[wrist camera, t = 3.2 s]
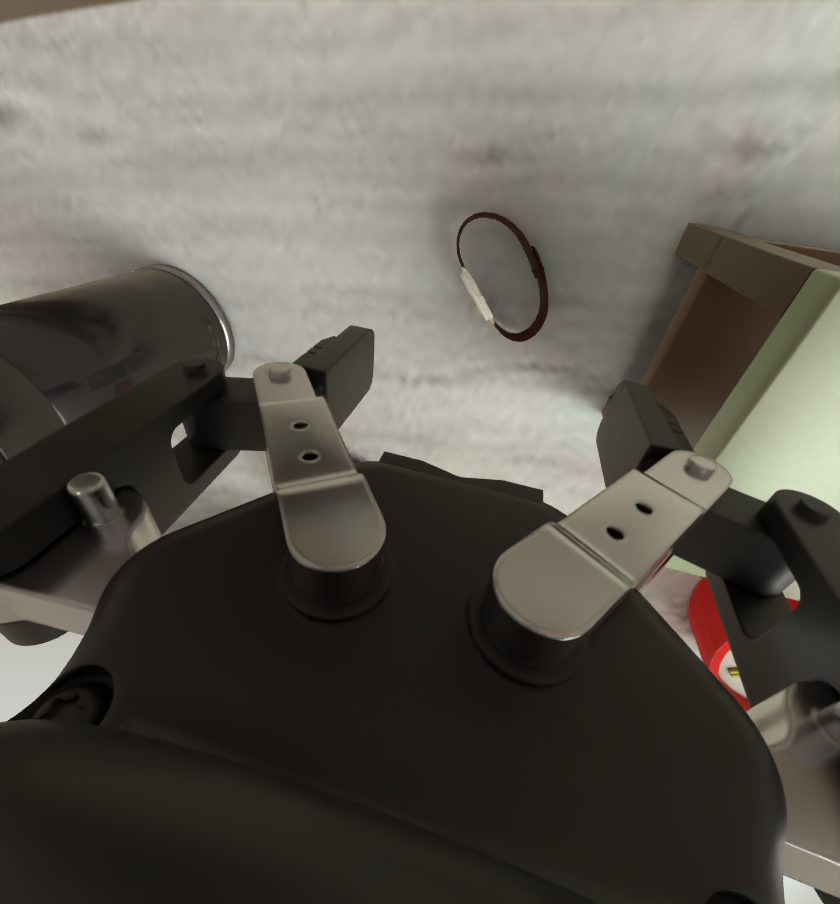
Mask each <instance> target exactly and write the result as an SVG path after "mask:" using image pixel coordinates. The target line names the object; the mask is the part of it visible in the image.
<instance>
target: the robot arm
mask: <svg viewBox="0 0 840 904" xmlns="http://www.w3.org/2000/svg"><path fill="white" fill-rule="evenodd" d="M233 355H234V342H233V336H232V332H231V329H230V326H229V323H228V321H227V319H226V317H225V315H224V313H223V311H222V309H221V308H220V306H219V305H218V303H217V302H216V301H215V299H214V298H213V297H212V296H211V295H210V293H209V292H208V291H207V290H206V289H205V288H204V287H203V286H202V285H201V284H199V283H198V282H197V281H196V280H194V279H193V278H192V277H190V276H189V275H187V274H185V273H183V272H182V271H179V270H177V269H175V268H172V267H168V266H164V265H151V266H147V267H143V268H139V269H137V270H135V271H133V272H129V273H125V274H121V275H117V276H113V277H109V278H104V279H100V280H96V281H93V282H89V283H85V284H81V285H77V286H73V287H69V288H65V289H61V290H57V291H53V292H49V293H45V294H41V295H37V296H34V297H30V298H26V299H22V300H18V301H14V302H10V303H6V304H2V305H0V633H1V634H3V636H5V637H6V638H7V639H8V640H9V641H10V642H12V643H14V644H16V645H21V646H31V645H38V644H42V643H45V642H48V641H51V640H53V639H56V638H58V637H60V636H61V635H63V634H65V633H67V632H68V631H70V632H74V633H77V634H82V635H84V637H83V639H82V641H81V642H80V644H79V646H78V647H77V649H76V651H75V653H74V654H73V656H72V658H71V659H70V660H69V662H68V663H67V665H66V666H65V668H64V669H63V670H62V672H61V673H60V675H59V676H58V677H57V678H56V680H55V681H54V682H53V683H52V684H51V686H49V687H48V689H47V690H46V691H44V692H43V693H42V694H41V695H40V696H39V697H38V698H37V699H36V700H35V701H34V702H32V703H31V704H30V705H29V706H27V707H26V708H25V709H24V710H22V711H21V712H20V713H18V714H17V715H16V716H14V717H13V718H11V719H9V720H8V721H6V722H1V723H0V904H785V901H784V888H783V875H785V876H787V877H789V878H792V879H794V880H797V881H799V882H801V883H804V884H806V885H809V886H811V887H814V889H815V891H816V892H817V894H818V896H819V897H820V899H821V900H822V902H823V903H824V904H840V512H839V511H837V510H836V509H835V508H833V507H832V506H830V505H828V504H827V503H825V502H823V501H821V500H819V499H817V498H815V497H813V496H811V495H808V494H805V493H802V492H799V491H795V490H789V489H781V490H778V491H776V492H775V493H774V494H773V495H772V496H771V498H770V499H769V500H768V501H767V502H764V501H762V500H759V499H757V498H754V497H752V496H749V495H747V494H744V493H742V492H739V491H737V490H735V489H732V488H730V486H731V484H732V483H733V479H732V476H731V474H730V473H729V472H728V470H726V469H725V468H724V467H723V466H722V465H721V464H719V463H718V462H716V461H714V460H713V459H711V458H709V457H707V456H704V455H702V454H699V453H696V452H694V450H693V448H692V446H691V444H690V442H689V441H688V439H687V437H686V435H684V431H683V430H682V428H681V427H679V426H680V424H679V422H678V421H677V419H676V417H675V415H674V414H673V413H671V412H670V411H669V410H668V409H667V408H666V407H664V406H663V405H660V404H658V402H657V400H656V398H655V396H654V394H653V392H652V390H651V388H650V386H647V385H642V384H637V383H632V382H627V381H622V382H621V383H620V384H619V386H618V387H617V389H616V391H615V394H614V396H613V398H612V400H611V402H610V404H609V406H608V408H607V410H606V413H605V415H604V417H603V419H602V421H601V423H600V426H599V429H598V432H597V438H596V442H597V447H598V452H599V457H600V462H601V467H602V472H603V476H604V481H605V486H606V489H604V490H603V491H602V492H600V493H599V494H597V495H596V496H595V497H593V498H592V499H590V500H589V501H588V502H586V503H585V504H583V505H582V506H581V507H579V508H578V509H576V510H575V511H573V512H572V513H571V514H569V515H568V516H567V515H565V514H564V513H562V512H561V511H559V510H558V509H556V508H554V507H552V506H550V505H548V504H546V503H544V502H543V490H540V489H536V488H532V487H528V486H524V485H519V484H515V483H511V482H507V481H503V480H491V479H477V478H464V477H458V476H456V475H453V474H451V473H449V472H447V471H444V470H442V469H440V468H437V467H435V466H433V465H431V464H428V463H426V462H424V461H421V460H417V459H413V458H409V457H405V456H401V455H396V454H392V453H388V452H384V453H383V455H382V457H381V459H380V461H365V462H355V463H353V462H352V460H351V457H350V455H349V453H348V451H347V448H346V446H345V444H344V441H343V439H342V437H341V435H340V432H339V430H338V429H339V428H340V427H341V426H342V424H343V423H344V422H345V420H346V419H347V418H348V416H349V415H350V414H351V413H352V411H353V410H354V409H355V407H356V406H357V405H358V404H359V402H360V401H361V400H362V398H363V397H364V396H365V394H366V393H367V392H368V390H369V389H370V386H371V383H372V378H373V363H374V332H373V330H372V329H367V328H362V327H358V326H353V325H350V326H349V327H348V328H347V329H345V330H344V331H343V332H342V333H340V334H339V335H338V336H337V337H335V336H333V337H330V338H327V339H324V340H321V341H320V342H319V343H317V344H316V345H315V346H314V347H313V348H311V349H310V350H308V351H307V353H305V354H303V355H302V356H301V357H299V358H298V359H297V360H296V361H294V362H293V363H287V362H276V363H269V364H265V365H262V366H260V367H258V368H257V369H255V371H254V372H253V378H235V377H226V375H225V372H226V371H227V369H228V368H229V366H230V365H231V362H232V359H233ZM182 422H183V425H184V428H185V431H186V434H187V437H186V438H184V439H183V440H182V441H181V442H180V443H178V444H177V445H176V446H175V447H174V448H173V449H172V446H171V437H172V434H173V431H174V430H175V428H176V427H177V426H178V425H180V424H181V423H182ZM240 450H250V451H266V456H267V461H268V466H269V472H270V477H271V482H272V488H273V493H270V494H268V495H265V496H263V497H260V498H257V499H255V500H252V501H250V502H247V503H245V504H242V505H240V506H237V507H235V508H232V509H230V510H227V511H225V512H222V513H220V514H217V515H215V516H212V517H210V518H207V519H205V520H202V521H200V522H197V523H194V524H192V525H189V526H187V527H184V528H182V529H179V530H177V531H174V532H172V533H169V534H167V535H165V536H163V537H162V535H163V534H164V533H165V532H166V531H167V529H168V528H169V527H170V526H171V525H172V524H173V523H174V522H175V521H176V520H177V519H178V518H179V517H180V516H181V515H182V513H183V512H184V511H185V510H186V509H187V508H188V507H189V506H190V505H191V504H192V503H193V502H194V501H195V500H196V499H197V497H198V496H199V495H200V494H201V493H202V492H203V491H204V490H205V489H206V488H207V487H208V486H209V485H210V484H211V483H212V481H213V480H214V479H215V478H216V477H217V476H218V475H219V474H220V473H221V472H222V471H223V470H224V469H225V468H226V467H227V465H228V464H229V463H230V462H231V461H232V460H233V459H234V458H235V457H236V456H237V455H238V454H239V452H240ZM674 555H675V556H677V557H679V558H681V559H683V560H685V561H687V562H689V563H691V564H693V565H696V566H698V567H700V568H702V569H704V570H705V574H706V578H707V581H708V584H709V587H710V590H711V593H712V596H713V598H714V601H715V604H716V607H717V610H718V613H719V616H720V619H721V622H722V625H723V628H724V631H725V634H726V637H727V640H728V643H729V646H730V649H731V652H732V655H733V658H734V661H735V664H736V667H737V670H738V673H739V676H740V679H741V682H742V685H743V688H744V691H745V694H746V697H747V700H748V703H749V705H750V708H751V709H750V710H748V711H747V712H746V711H745V709H744V708H743V707H742V706H741V705H740V704H739V702H738V701H737V700H736V699H735V698H734V697H733V695H732V694H731V693H730V692H729V691H728V690H727V689H726V688H725V687H724V685H723V684H722V683H721V682H720V681H719V680H718V679H717V678H716V677H715V675H714V674H713V673H712V672H711V671H710V670H709V669H708V668H707V667H706V665H705V664H704V663H703V662H702V661H701V660H700V659H699V658H698V657H697V655H696V654H695V653H694V652H693V651H692V650H691V649H690V648H689V647H688V645H687V644H686V643H685V642H684V641H683V640H682V639H681V638H680V637H679V635H678V634H677V633H676V632H675V631H674V630H673V629H672V628H671V627H670V625H669V624H668V623H667V622H666V621H665V620H664V619H663V618H662V617H661V615H660V614H659V613H658V612H657V611H656V610H655V609H654V608H653V607H652V605H651V604H650V603H649V602H648V601H647V600H646V599H645V598H644V597H643V595H642V594H641V593H640V592H641V591H642V590H643V589H644V588H645V587H646V586H647V585H648V584H649V583H650V581H651V580H652V579H653V578H654V577H655V576H656V575H657V574H658V573H659V572H660V570H661V569H662V568H663V567H664V566H665V565H666V564H667V563H668V562H669V560H670V559H671V558H672V557H673V556H674ZM795 580H796V582H797V584H798V586H799V589H800V600H799V603H798V605H797V607H796V608H795V609H794V610H793V611H792V609H791V607H790V605H789V603H788V601H787V600H786V598H785V596H784V594H783V592H782V591H783V590H785V589H786V588H787V587H788V586H789V585H791V584H792V583H793V582H794V581H795Z"/></svg>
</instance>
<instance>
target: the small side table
mask: <svg viewBox="0 0 840 904" xmlns="http://www.w3.org/2000/svg"><path fill="white" fill-rule="evenodd" d="M675 254H676V255H678V256H680V257H681V258H683V259H685V260H686V261H688V262H689V263H691V264H693V265H694V266H696V267H698V270H697V272H696V274H695V276H694V278H693V280H692V282H691V284H690V286H689V288H688V290H687V291H686V293H685V295H684V297H683V299H682V301H681V303H680V305H679V307H678V309H677V311H676V313H675V315H674V317H673V319H672V321H671V323H670V325H669V327H668V329H667V331H666V333H665V335H664V337H663V339H662V341H661V343H660V345H659V347H658V349H657V351H656V353H655V355H654V357H653V359H652V361H651V363H650V365H649V367H648V369H647V371H646V373H645V375H644V377H643V379H642V381H641V383H640V384H642V385H647V386H650V388H651V390H652V392H653V394H654V396H655V398H656V400H657V402H658V404H660V405H663V406H664V407H666V408H667V409H668V410H669V411H670V412H671V413H673V414H674V415H675V417H676V419H677V421H678V422H679V424H680V426H679V427H681V428H682V430H683V431H684V435H686V437H687V439H688V441H689V442H690V444H691V446H692V448H693V450H694V452H696V453H699V454H702V455H704V456H707V457H709V458H711V459H713V460H714V461H716V462H718V463H719V464H721V465H722V466H723V467H724V468H725V469H726V470H728V472H729V473H730V474H731V476H732V479H733V483H732V484H731V486H730V488H732V489H735V490H737V491H739V492H742V493H744V494H747V495H749V496H752V497H754V498H757V499H759V500H762V501H764V502H767V501H768V500H769V499H770V498H771V496H772V495H773V494H774V493H775V492H776V491H778V490H781V489H789V490H795V491H799V492H802V493H805V494H808V495H811V496H813V497H815V498H817V499H819V500H821V501H823V502H825V503H827V504H828V505H830V506H832V507H833V508H835V509H836V510H837V511H839V512H840V251H838V250H831V249H824V248H817V247H810V246H804V245H797V244H790V243H783V242H776V241H769V240H762V239H756V238H750V237H747V236H743V235H740V234H737V233H734V232H731V231H728V230H725V229H722V228H719V227H713V226H706V225H699V224H692V223H689V224H688V226H687V228H686V230H685V232H684V235H683V237H682V239H681V241H680V243H679V246H678V248H677V250H676V252H675ZM612 398H613V396H609V398H608V401H607V403H606V405H605V407H604V409H603V411H602V416H603V417H604V415H605V413H606V410H607V408H608V406H609V404H610V402H611V400H612ZM664 567H667V568H671V569H675V570H678V571H682V572H686V573H690V574H694V575H698V576H702V577H706V574H705V570H704V569H702V568H700V567H698V566H696V565H693V564H691V563H689V562H687V561H685V560H683V559H681V558H679V557H677V556H675V555H674V556H673V557H672V558H671V559H670V560H669V562H668V563H667V564H666V565H665V566H664ZM782 592H783V594H784V596H785V598H789V599H793V600H797V601H799V600H800V589H799V586H798V584H797V582H796V580H795V581H794V582H793V583H792V584H791V585H789V586H788V587H787V588H786V589H785V590H783V591H782Z"/></svg>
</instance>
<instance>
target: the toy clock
mask: <svg viewBox="0 0 840 904" xmlns="http://www.w3.org/2000/svg"><path fill="white" fill-rule="evenodd" d="M786 600H787V601H788V603H789V605H790V607H791V609H792V611H793V610H794V609H795V608H796V607H797V605H798V603H799V601H797V600H793V599H789V598H786ZM687 614H688V618H689V622H690V625H691V628H692V631H693V634H694V637H695V640H696V643H697V646H698V649H699V652H700V654H701V657H702V660H703V663H704V664H705V665H706V667H707V668H708V669H709V670H710V671H711V672H712V673H713V674H714V675H715V677H716V678H717V679H718V680H719V681H720V682H721V683H722V684H723V685H724V687H725V688H726V689H727V690H728V691H729V692H730V693H731V694H732V695H733V697H734V698H735V699H736V700H737V701H738V702H739V704H740V705H741V706H742V707H743V708H744V709H745V711H746V712H747V711H748V710H750V709H751V708H750V705H749V703H748V700H747V697H746V694H745V691H744V688H743V685H742V682H741V679H740V676H739V673H738V670H737V667H736V664H735V661H734V658H733V655H732V652H731V649H730V646H729V643H728V640H727V637H726V634H725V631H724V628H723V625H722V622H721V619H720V616H719V613H718V610H717V607H716V604H715V601H714V598H713V596H712V593H711V590H710V587H709V584H708V581H707V578H706V577H703V578H702V579H701V580H700V581H699V583H698V584H697V585H696V587H695V588H694V589H693V591H692V593H691V596H690V598H689V600H688V608H687Z"/></svg>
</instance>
